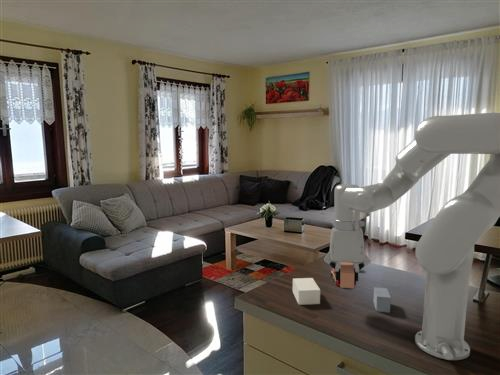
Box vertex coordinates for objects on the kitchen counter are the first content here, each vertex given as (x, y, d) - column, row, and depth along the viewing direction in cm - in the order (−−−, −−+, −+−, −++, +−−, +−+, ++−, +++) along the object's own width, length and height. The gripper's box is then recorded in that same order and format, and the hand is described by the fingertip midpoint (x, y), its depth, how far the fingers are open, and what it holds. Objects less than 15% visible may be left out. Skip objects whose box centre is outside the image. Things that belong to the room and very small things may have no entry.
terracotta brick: (354, 288, 110) (354, 273, 108) (340, 287, 111) (340, 273, 109) (352, 276, 116) (352, 262, 115) (339, 275, 117) (339, 261, 116)
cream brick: (319, 304, 118) (320, 289, 118) (298, 305, 118) (298, 290, 117) (312, 291, 128) (312, 277, 127) (292, 292, 128) (292, 278, 127)
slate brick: (389, 312, 112) (390, 297, 112) (376, 311, 113) (377, 296, 113) (386, 302, 119) (387, 288, 119) (373, 301, 120) (374, 287, 119)
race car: (352, 289, 130) (352, 278, 130) (337, 289, 130) (337, 278, 130) (343, 274, 143) (343, 265, 143) (329, 274, 144) (329, 265, 143)
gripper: (374, 222, 113) (373, 279, 115) (319, 221, 116) (319, 277, 118) (377, 228, 105) (376, 289, 107) (318, 227, 109) (319, 286, 111)
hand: (346, 282), depth 113 cm, fingers closed on terracotta brick, 4 cm apart
